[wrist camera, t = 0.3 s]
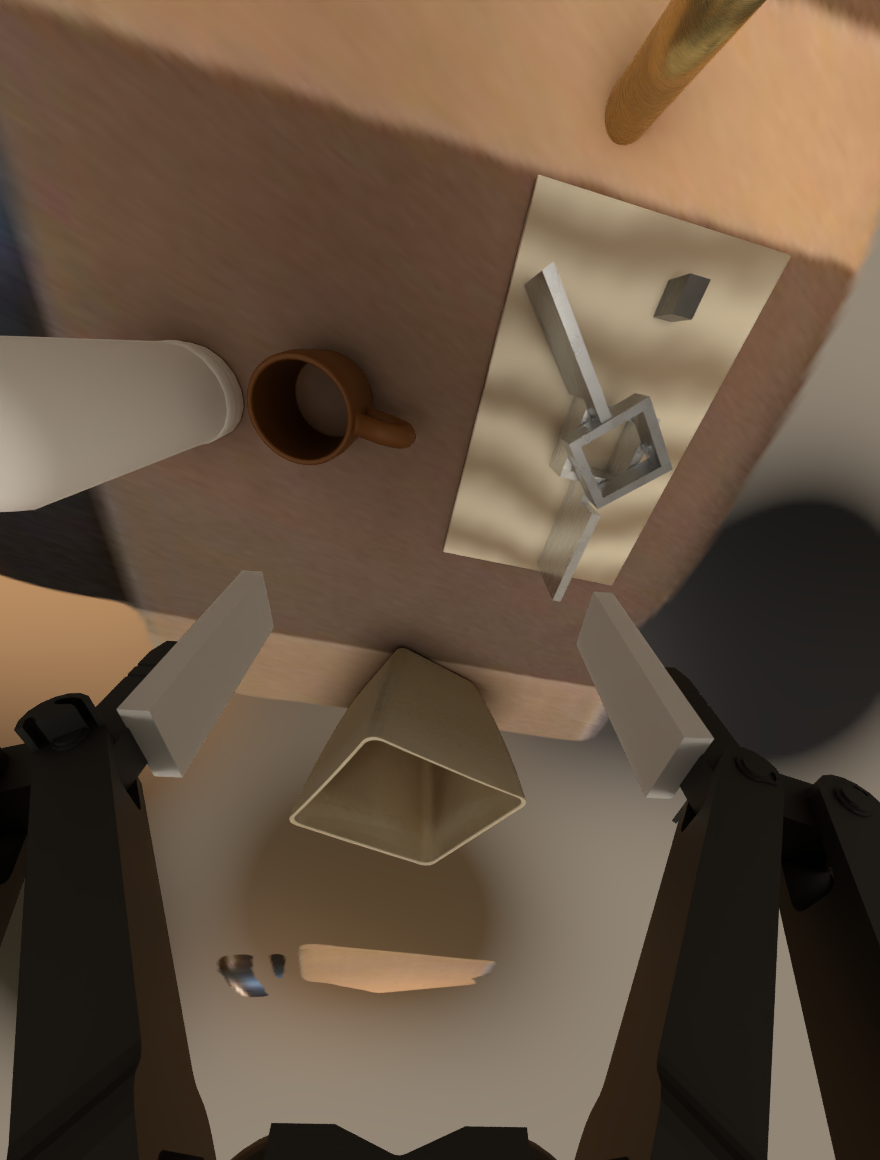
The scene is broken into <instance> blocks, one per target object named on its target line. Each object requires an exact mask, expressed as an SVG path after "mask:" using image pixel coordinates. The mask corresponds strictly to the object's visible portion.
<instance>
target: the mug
mask: <svg viewBox="0 0 880 1160" xmlns="http://www.w3.org/2000/svg"><path fill="white" fill-rule="evenodd" d="M247 406H248V411H249V415H250V418H251V421H252V424H253V426H254V428H255V430H256V431H257V433H258V435H259V436H260V438H261V439H262V440H263V441H264V443H265V444H266V445H267V446H268V447H269V448H270V449H271V450H273V451H274V452H275V453H277V454H278V455H279V456H281V457H283V458H285V459H287V460H289V461H291V462H294V463H298V464H303V465H317V464H322V463H325V462H327V461H329V460H331V459H333V458H335V457H336V456H338V455H340V454H341V453H342V452H344V451H345V450H346V449H347V448H348V447H349V446H350V445H351V444H352V443H353V442H354V441H355V440H356V439H357V438H358V436H359V437H361V438H364V439H367V440H369V441H372V442H374V443H377V444H380V445H384V446H388V447H393V448H407V447H409V446H411V445H412V444H413V442H414V441H415V438H416V434H415V430H414V428H413V427H412V426H411V425H410V424H409V423H408V422H406V421H404V420H402V419H400V418H397V417H395V416H392V415H389V414H386V413H383V412H379V411H377V410H374V409H372V406H373V405H372V393H371V390H370V386H369V384H368V381H367V379H366V377H365V376H364V374H363V373H362V371H361V370H360V369H359V367H358V366H357V365H356V364H355V363H354V362H353V361H351V360H350V359H348V358H347V357H345V356H343V355H342V354H339V353H336V352H333V351H328V350H307V349H299V350H289V351H285V352H282V353H278V354H275V355H272V356H270V357H268V358H267V359H265V360H264V361H263V362H262V363H260V364H259V365H258V367H257V368H256V369H255V371H254V372H253V374H252V376H251V379H250V381H249V385H248V390H247Z"/></svg>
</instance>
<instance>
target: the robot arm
mask: <svg viewBox="0 0 880 1160" xmlns="http://www.w3.org/2000/svg"><path fill="white" fill-rule="evenodd" d="M273 628H274V625H273V620H272V616H271V611H270V606H269V601H268V596H267V592H266V587H265V582H264V577H263V572H259V571H243V570H242V572H241V573H240V574H239V575H238V576H237V577H236V578H235V579H234V580H233V581H232V583H231V584H230V585H229V586H228V587H227V588H226V589H225V590H224V591H223V592H222V594H221V595H220V596H219V597H218V598H217V599H216V600H215V601H214V602H213V603H212V605H211V606H210V607H209V608H208V609H207V610H206V611H205V612H204V613H203V614H202V616H201V617H200V618H199V619H198V620H197V621H196V622H195V623H194V624H193V625H192V627H191V628H190V629H189V630H188V631H187V632H186V633H185V634H184V635H183V636H182V638H181V639H180V640H179V641H166V642H164V643H163V644H161V645H160V646H158V647H156V648H155V649H153V650H151V651H150V652H149V653H148V654H147V655H146V656H145V657H144V658H143V659H142V660H141V661H140V662H139V663H138V666H136V667H134V668H133V670H131V672H130V673H129V674H128V676H127V677H125V678H124V679H123V680H122V681H121V682H120V683H119V684H118V685H117V686H116V687H115V688H114V689H113V690H112V691H111V692H110V693H109V694H108V695H107V696H106V697H105V698H104V699H103V700H102V701H101V702H100V703H99V704H98V705H97V706H96V707H95V706H94V704H93V703H92V701H91V699H90V698H89V696H87V695H84V694H82V693H69V694H65V695H61V696H57V697H54V698H52V699H50V700H47V701H45V702H42V703H40V704H39V705H37V706H36V707H34V708H33V709H31V710H29V711H28V712H27V713H26V714H25V715H24V716H23V717H22V718H21V719H20V720H19V721H18V723H17V725H16V727H15V729H14V730H15V732H16V733H17V734H18V735H19V736H20V738H21V739H22V740H23V741H24V743H25V744H20V745H15V746H10V747H5V748H0V945H1V943H2V940H3V937H4V934H5V932H6V929H7V926H8V924H9V920H10V918H11V915H12V912H13V910H14V907H15V904H16V901H17V898H18V896H19V893H20V890H21V887H22V884H23V882H24V879H25V887H24V903H23V920H22V937H21V953H20V969H19V985H18V986H19V987H18V1001H17V1018H16V1035H15V1051H14V1066H13V1083H12V1099H11V1115H10V1132H9V1146H8V1154H7V1160H216V1155H215V1150H214V1145H213V1140H212V1134H211V1130H210V1125H209V1121H208V1117H207V1114H206V1111H205V1107H204V1104H203V1102H202V1099H201V1097H200V1095H199V1092H198V1090H197V1087H196V1083H195V1080H194V1076H193V1071H192V1065H191V1060H190V1054H189V1049H188V1043H187V1037H186V1032H185V1026H184V1021H183V1015H182V1009H181V1003H180V998H179V992H178V986H177V981H176V975H175V970H174V965H173V959H172V953H171V947H170V942H169V936H168V930H167V924H166V919H165V913H164V908H163V902H162V896H161V891H160V885H159V879H158V874H157V868H156V863H155V857H154V852H153V846H152V840H151V834H150V829H149V823H148V817H147V812H146V806H145V800H144V795H143V789H142V784H141V782H140V780H139V778H138V776H139V774H140V773H141V771H142V770H143V768H144V767H145V766H146V764H148V766H149V768H150V769H151V771H152V773H153V775H154V776H165V777H183V775H184V774H185V772H186V770H187V769H188V767H189V766H190V764H191V762H192V761H193V759H194V757H195V756H196V754H197V752H198V751H199V749H200V747H201V746H202V744H203V742H204V741H205V739H206V738H207V736H208V734H209V733H210V731H211V729H212V728H213V726H214V725H215V723H216V721H217V720H218V718H219V716H220V715H221V713H222V711H223V710H224V708H225V706H226V705H227V703H228V702H229V700H230V698H231V697H232V695H233V693H234V692H235V690H236V688H237V687H238V685H239V684H240V682H241V680H242V679H243V677H244V675H245V674H246V672H247V670H248V669H249V667H250V665H251V664H252V662H253V661H254V659H255V657H256V656H257V654H258V652H259V651H260V649H261V647H262V646H263V644H264V643H265V641H266V639H267V638H268V636H269V634H270V633H271V631H272V629H273ZM576 645H577V648H578V650H579V652H580V654H581V656H582V659H583V661H584V663H585V665H586V667H587V670H588V672H589V674H590V676H591V679H592V681H593V683H594V685H595V687H596V690H597V692H598V694H599V696H600V698H601V701H602V703H603V705H604V707H605V709H606V712H607V714H608V716H609V718H610V720H611V722H612V725H613V727H614V729H615V731H616V733H617V736H618V738H619V740H620V742H621V744H622V747H623V749H624V751H625V753H626V756H627V758H628V760H629V762H630V765H631V767H632V769H633V771H634V773H635V776H636V778H637V780H638V782H639V784H640V786H641V789H642V791H643V793H644V795H645V797H646V798H665V799H672V797H673V796H674V795H675V793H676V792H677V790H678V789H679V788H680V787H681V789H682V791H683V793H684V795H685V796H686V798H687V801H686V802H685V804H684V805H683V806H682V808H681V809H680V811H679V812H678V813H677V814H676V816H675V817H674V819H673V820H672V821H673V822H675V823H677V822H678V825H677V829H676V832H675V835H674V839H673V842H672V846H671V850H670V853H669V857H668V860H667V864H666V867H665V871H664V874H663V878H662V882H661V885H660V889H659V892H658V896H657V899H656V903H655V906H654V910H653V914H652V917H651V920H650V924H649V927H648V931H647V934H646V938H645V941H644V945H643V949H642V952H641V956H640V959H639V962H638V966H637V970H636V973H635V977H634V980H633V984H632V987H631V991H630V994H629V998H628V1002H627V1005H626V1009H625V1012H624V1016H623V1019H622V1023H621V1026H620V1030H619V1033H618V1037H617V1040H616V1044H615V1047H614V1051H613V1054H612V1058H611V1062H610V1065H609V1068H608V1072H607V1075H606V1079H605V1082H604V1085H603V1088H602V1091H601V1093H600V1096H599V1098H598V1099H597V1101H596V1103H595V1105H594V1107H593V1109H592V1111H591V1113H590V1115H589V1118H588V1120H587V1122H586V1125H585V1128H584V1131H583V1134H582V1137H581V1140H580V1143H579V1147H578V1150H577V1153H576V1157H575V1160H767V1152H768V1131H769V1109H770V1088H771V1087H770V1086H771V1066H772V1046H773V1024H774V1003H775V981H776V960H777V938H778V918H779V909H780V913H781V918H782V922H783V927H784V931H785V936H786V940H787V945H788V949H789V953H790V958H791V962H792V967H793V971H794V975H795V980H796V984H797V989H798V994H799V998H800V1002H801V1007H802V1011H803V1016H804V1020H805V1025H806V1029H807V1034H808V1038H809V1043H810V1047H811V1051H812V1056H813V1060H814V1065H815V1069H816V1074H817V1078H818V1083H819V1087H820V1092H821V1096H822V1101H823V1105H824V1109H825V1114H826V1118H827V1123H828V1127H829V1132H830V1136H831V1141H832V1145H833V1150H834V1154H835V1158H836V1160H880V802H879V801H878V800H877V799H876V798H874V797H873V796H872V795H871V794H870V793H869V792H867V791H866V790H864V789H863V788H861V787H860V786H858V785H857V784H855V783H853V782H851V781H848V780H847V779H845V778H842V777H838V776H834V775H822V777H820V778H819V779H818V780H817V781H816V782H815V783H814V784H810V783H807V782H804V781H801V780H798V779H795V778H791V777H788V776H785V775H782V774H779V772H778V771H777V770H776V768H775V767H774V766H773V765H772V764H771V763H770V762H768V761H767V760H766V759H765V758H763V757H762V756H760V755H759V754H757V753H755V752H753V751H751V750H748V749H746V748H743V747H740V746H739V745H738V743H737V742H736V741H735V739H734V738H733V737H732V735H731V734H730V733H729V731H728V730H727V729H726V727H725V726H724V725H723V723H722V722H721V721H720V719H719V718H718V717H717V715H716V714H715V713H714V712H713V710H712V709H711V707H710V706H708V705H707V704H708V703H707V702H706V701H705V700H704V698H703V697H702V695H700V694H699V691H698V690H697V689H696V687H695V686H694V685H693V683H692V682H691V681H690V680H689V679H688V678H687V677H686V676H685V675H683V674H682V673H681V672H680V671H679V670H677V669H676V668H671V667H664V666H663V665H662V663H661V662H660V660H659V659H658V658H657V656H656V655H655V653H654V652H653V651H652V649H651V648H650V646H649V645H648V643H647V642H646V640H645V639H644V638H643V636H642V635H641V633H640V632H639V630H638V629H637V628H636V626H635V625H634V623H633V622H632V620H631V619H630V618H629V616H628V615H627V613H626V612H625V610H624V609H623V608H622V606H621V605H620V603H619V602H618V600H617V599H616V597H615V596H614V595H613V593H606V592H593V595H592V598H591V601H590V604H589V607H588V610H587V613H586V616H585V619H584V622H583V625H582V628H581V630H580V633H579V636H578V639H577V642H576ZM231 1160H556V1159H555V1158H554V1157H553V1156H552V1155H551V1154H550V1153H548V1152H547V1151H546V1150H544V1149H543V1148H541V1147H540V1146H539V1145H537V1144H536V1143H534V1142H532V1141H530V1140H528V1133H527V1128H525V1127H524V1128H523V1127H468V1126H465V1127H463V1128H461V1129H459V1130H457V1131H454V1132H452V1133H450V1134H448V1135H446V1136H444V1137H442V1138H439V1139H437V1140H435V1141H433V1142H431V1143H429V1144H427V1145H424V1146H422V1147H420V1148H418V1149H416V1150H414V1151H411V1152H409V1153H407V1154H404V1155H400V1156H399V1155H394V1154H391V1153H389V1152H388V1151H386V1150H384V1149H382V1148H380V1147H378V1146H376V1145H374V1144H372V1143H370V1142H368V1141H366V1140H364V1139H362V1138H361V1137H358V1136H357V1135H355V1134H353V1133H351V1132H349V1131H347V1130H345V1129H343V1128H341V1127H339V1126H337V1125H335V1124H292V1123H271V1128H270V1132H269V1135H268V1136H266V1137H263V1138H262V1139H259V1140H258V1141H256V1142H254V1143H253V1144H251V1145H250V1146H248V1147H246V1148H245V1149H243V1150H242V1151H241V1152H239V1153H238V1154H237V1155H236V1156H235V1157H233V1158H232V1159H231Z"/></svg>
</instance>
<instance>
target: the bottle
mask: <svg viewBox="0 0 880 1160" xmlns="http://www.w3.org/2000/svg"><path fill="white" fill-rule="evenodd" d="M243 408H244V405H243V397H242V390H241V388H240V386H239V383H238V381H237V379H236V377H235V375H234V373H233V372H232V370H231V369H230V368H229V367H228V366H227V364H226V363H225V362H224V361H223V359H222V358H220V357H219V356H217V355H216V354H215V353H213V352H212V351H210V350H209V349H208V348H206V347H203V346H200V345H197V344H194V343H191V342H183V341H179V340H163V341H142V340H112V339H82V338H52V337H23V336H0V512H12V511H24V510H35V509H37V508H40V507H43V506H45V505H48V504H50V503H53V502H55V501H58V500H61V499H63V498H66V497H68V496H71V495H73V494H76V493H79V492H81V491H84V490H86V489H89V488H91V487H94V486H96V485H99V484H102V483H104V482H107V481H109V480H112V479H114V478H117V477H120V476H122V475H125V474H127V473H130V472H132V471H135V470H138V469H140V468H143V467H145V466H148V465H150V464H153V463H156V462H158V461H161V460H163V459H166V458H168V457H171V456H173V455H176V454H179V453H181V452H184V451H186V450H189V449H191V448H194V447H197V446H199V445H202V444H208V443H211V442H213V441H215V440H217V439H219V438H221V437H223V436H225V435H227V434H228V433H230V432H232V431H233V430H234V429H235V428H236V426H237V425H238V423H239V422H240V421H241V417H242V412H243Z"/></svg>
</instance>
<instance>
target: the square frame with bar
mask: <svg viewBox="0 0 880 1160" xmlns="http://www.w3.org/2000/svg"><path fill="white" fill-rule="evenodd" d="M524 286H525V289H526V291H527V294H528V296H529V298H530V301H531V303H532V306H533V308H534V311H535V313H536V315H537V318H538V320H539V323H540V325H541V327H542V330H543V332H544V335H545V337H546V340H547V342H548V344H549V347H550V349H551V352H552V354H553V356H554V359H555V361H556V364H557V366H558V368H559V371H560V373H561V376H562V378H563V381H564V383H565V385H566V388H567V390H568V393H569V394H570V395H573V396H575V397H578V398H581V399H584V401H585V404H586V406H587V409H588V411H589V414H590V416H591V420H589V421H588V422H586V423H584V424H583V425H581V426H579V427H578V428H576V429H574V430H573V431H571V432H569V433H568V434H566V435H565V436H563V437H561V441H562V443H563V445H564V447H565V450H566V452H567V454H568V456H569V458H570V461H571V463H572V465H573V467H574V470H575V472H576V474H577V476H578V478H579V481H580V483H581V485H582V487H583V490H584V492H585V494H586V496H587V498H588V500H589V501H590V502H591V503H592V504H593V505H594V506H595V507H596V508H597V509H599V508H601V507H603V506H605V505H607V504H609V503H611V502H612V501H614V500H616V499H618V498H620V497H622V496H624V495H626V494H628V493H629V492H631V491H633V490H635V489H637V488H639V487H641V486H643V485H645V484H646V483H648V482H650V481H652V480H654V479H656V478H658V477H660V476H662V475H663V474H665V473H667V472H669V471H671V470H673V468H672V465H671V462H670V458H669V455H668V452H667V449H666V446H665V443H664V439H663V436H662V433H661V430H660V427H659V424H658V420H657V417H656V414H655V411H654V408H653V404H652V401H651V398H650V396H646V395H641V394H637V393H634V394H632V395H631V396H629V397H627V398H626V399H624V400H622V401H621V402H619V403H618V404H616V405H614V406H613V407H611V408H608V406H607V403H606V400H605V398H604V395H603V392H602V389H601V387H600V384H599V381H598V379H597V376H596V373H595V371H594V368H593V365H592V363H591V360H590V357H589V354H588V352H587V349H586V346H585V344H584V341H583V338H582V336H581V333H580V330H579V328H578V325H577V322H576V320H575V317H574V314H573V311H572V309H571V306H570V303H569V301H568V298H567V295H566V293H565V290H564V287H563V285H562V282H561V279H560V276H559V274H558V271H557V268H556V266H555V263H554V262H552V263H551V264H550V265H548V266H547V267H546V268H544V269H543V270H542V271H541V272H539V273H538V274H537V275H536V276H534V277H533V278H532V279H531V280H529V281H528V282H527V283H526V284H524ZM632 417H633V420H634V423H635V426H636V429H637V432H638V435H639V438H640V441H641V443H642V446H643V449H644V452H645V455H646V458H647V459H646V460H644V461H642V462H640V463H639V464H637V465H635V466H633V467H631V468H629V469H628V470H626V471H624V472H622V473H620V474H618V475H617V476H615V477H613V478H611V479H609V480H608V481H606V482H604V483H602V484H600V485H598V486H597V483H596V481H595V479H594V476H593V474H592V472H591V469H590V467H589V465H588V462H587V460H586V458H585V455H584V453H583V451H582V448H581V447H583V446H584V445H586V444H588V443H589V442H591V441H593V440H595V439H596V438H598V437H600V436H601V435H603V434H605V433H607V432H608V431H610V430H612V429H613V428H615V427H617V426H618V425H620V424H622V423H624V422H625V421H627V420H629V419H630V418H632Z"/></svg>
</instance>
